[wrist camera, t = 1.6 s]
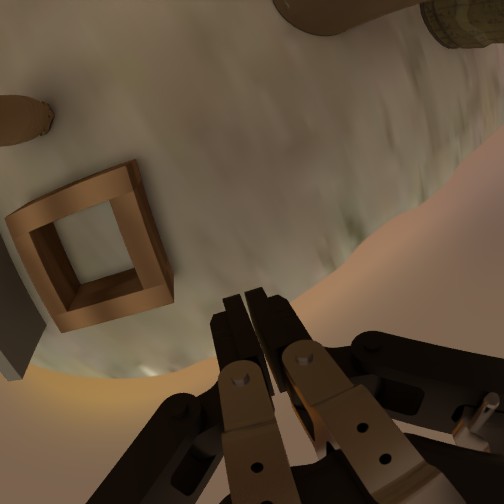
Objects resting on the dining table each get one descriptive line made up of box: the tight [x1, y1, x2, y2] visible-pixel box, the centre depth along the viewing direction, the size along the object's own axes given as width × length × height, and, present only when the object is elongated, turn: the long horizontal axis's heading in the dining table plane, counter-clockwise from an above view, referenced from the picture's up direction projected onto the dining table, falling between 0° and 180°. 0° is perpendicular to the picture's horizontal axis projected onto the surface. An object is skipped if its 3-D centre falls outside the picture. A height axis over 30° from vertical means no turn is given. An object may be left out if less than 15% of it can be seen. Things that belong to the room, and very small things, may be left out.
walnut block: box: [5, 159, 174, 333], centre depth 23 cm, size 12×12×5 cm
